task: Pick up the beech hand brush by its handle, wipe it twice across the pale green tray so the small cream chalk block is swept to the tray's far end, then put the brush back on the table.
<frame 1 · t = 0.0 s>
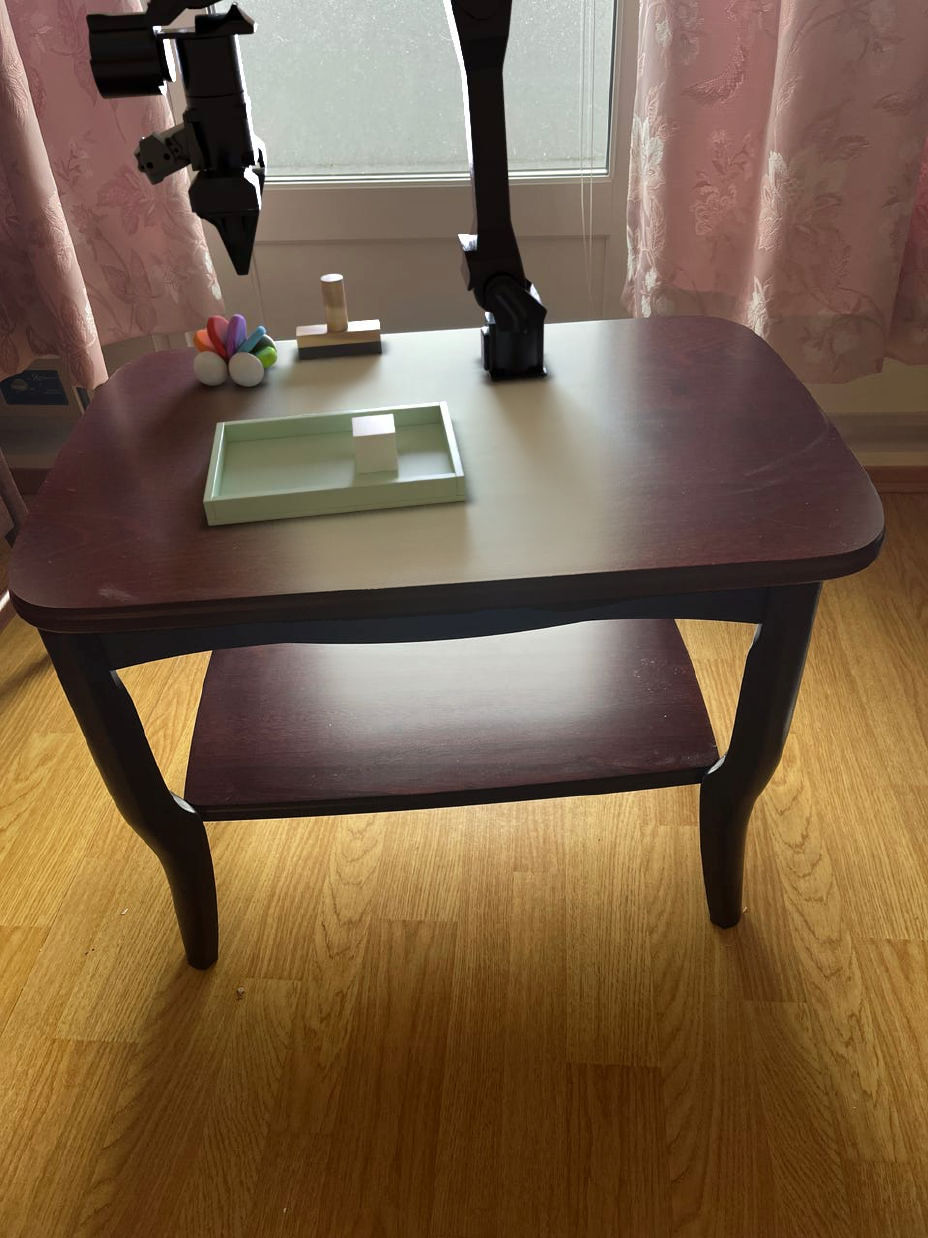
hand: (245, 259, 99), 15 cm above the table, tool pointing down, fingers open, 9 cm apart
brush: (340, 351, 116), on the table
rainbow petal wheeled toy: (240, 376, 112), on the table
tray: (337, 471, 93), on the table
chalk block: (377, 461, 93), point 1 cm above the table, touching tray
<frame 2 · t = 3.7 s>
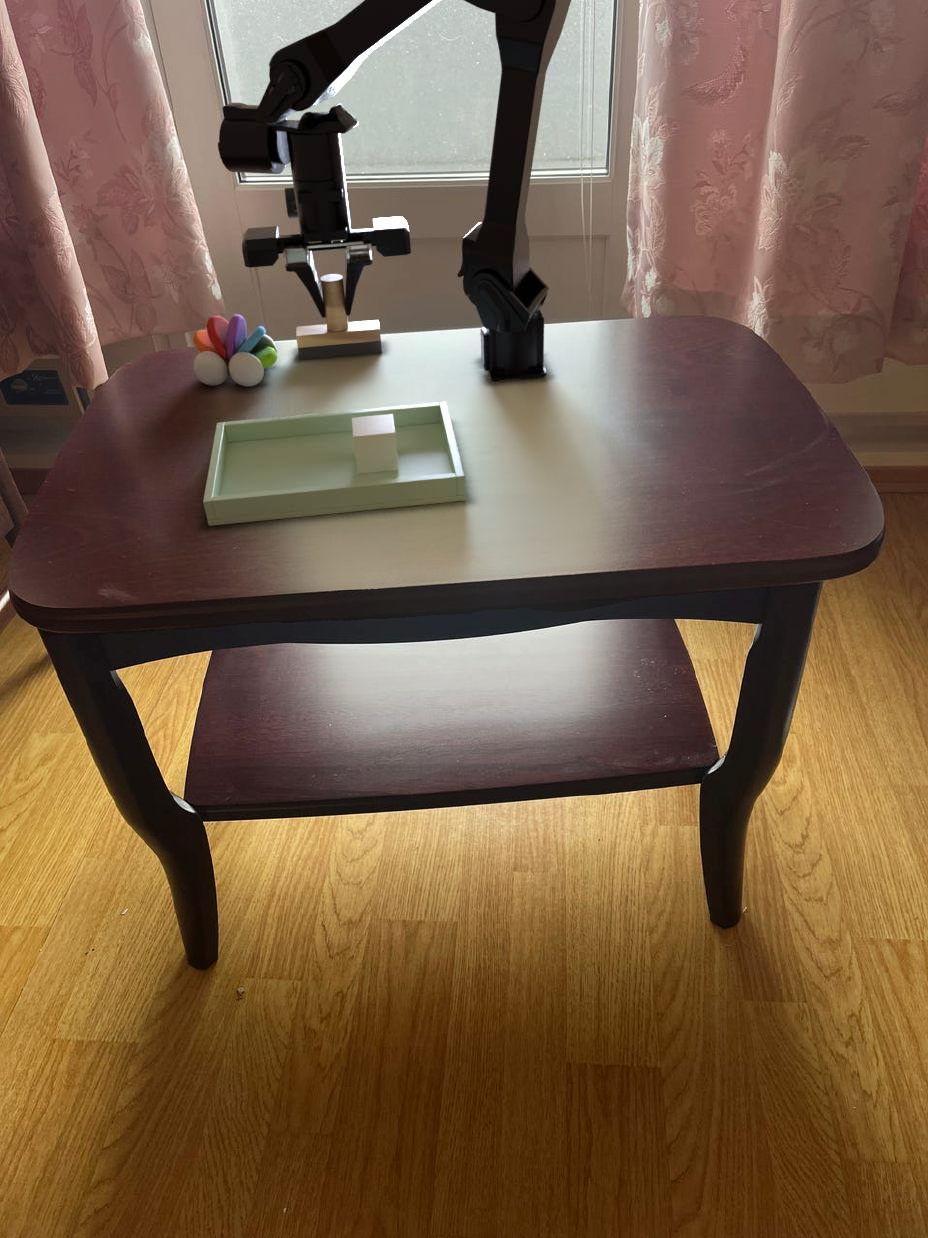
hand: (336, 315, 113), 5 cm above the table, tool pointing down, fingers closed on brush, 2 cm apart
brush: (340, 351, 116), on the table, touching gripper
everything else where it was.
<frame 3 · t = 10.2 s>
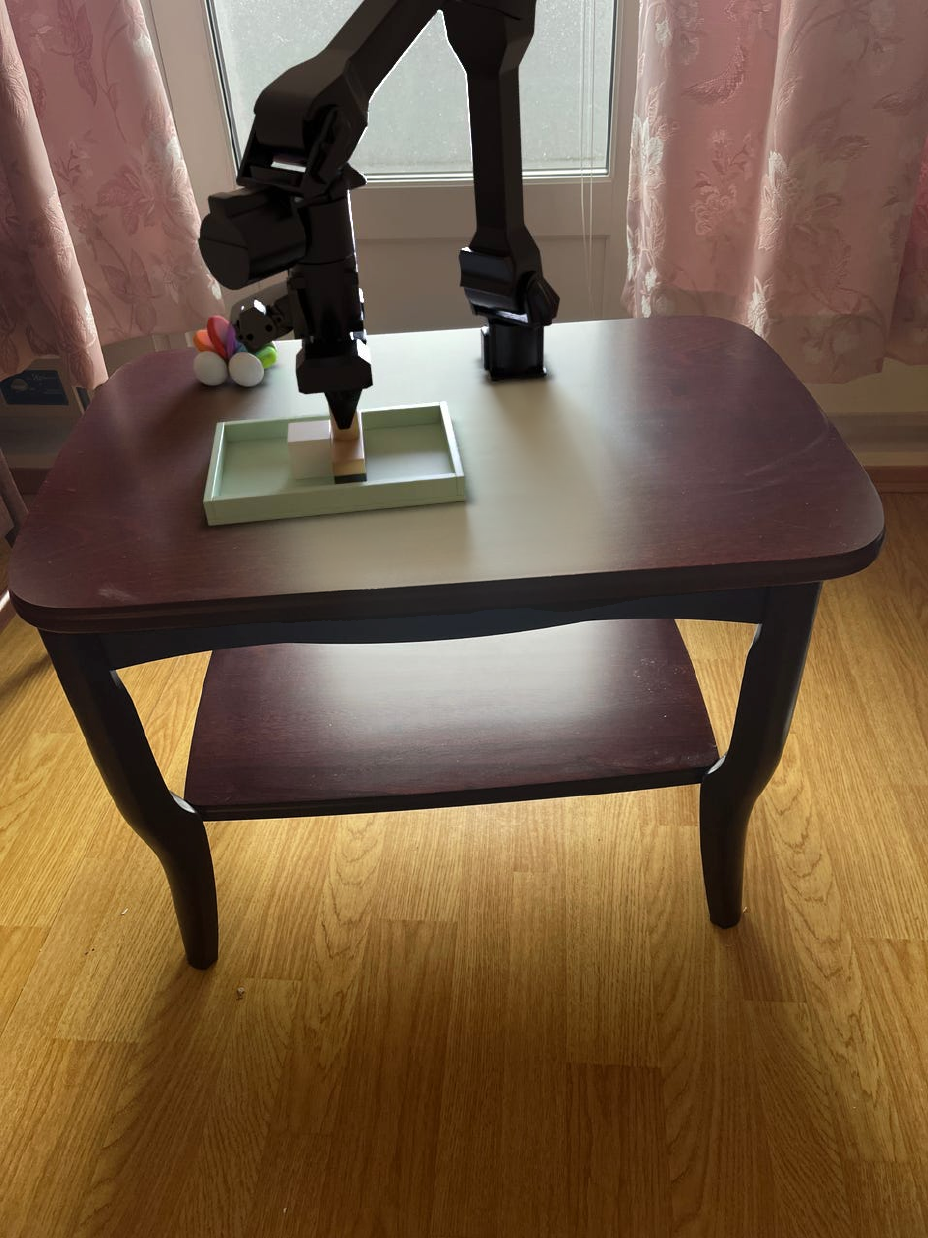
hand: (343, 421, 90), 5 cm above the table, tool pointing down, fingers closed on brush, 2 cm apart
brush: (350, 462, 93), point 1 cm above the table, touching gripper
chalk block: (314, 467, 93), point 1 cm above the table, touching tray
everything else where it was.
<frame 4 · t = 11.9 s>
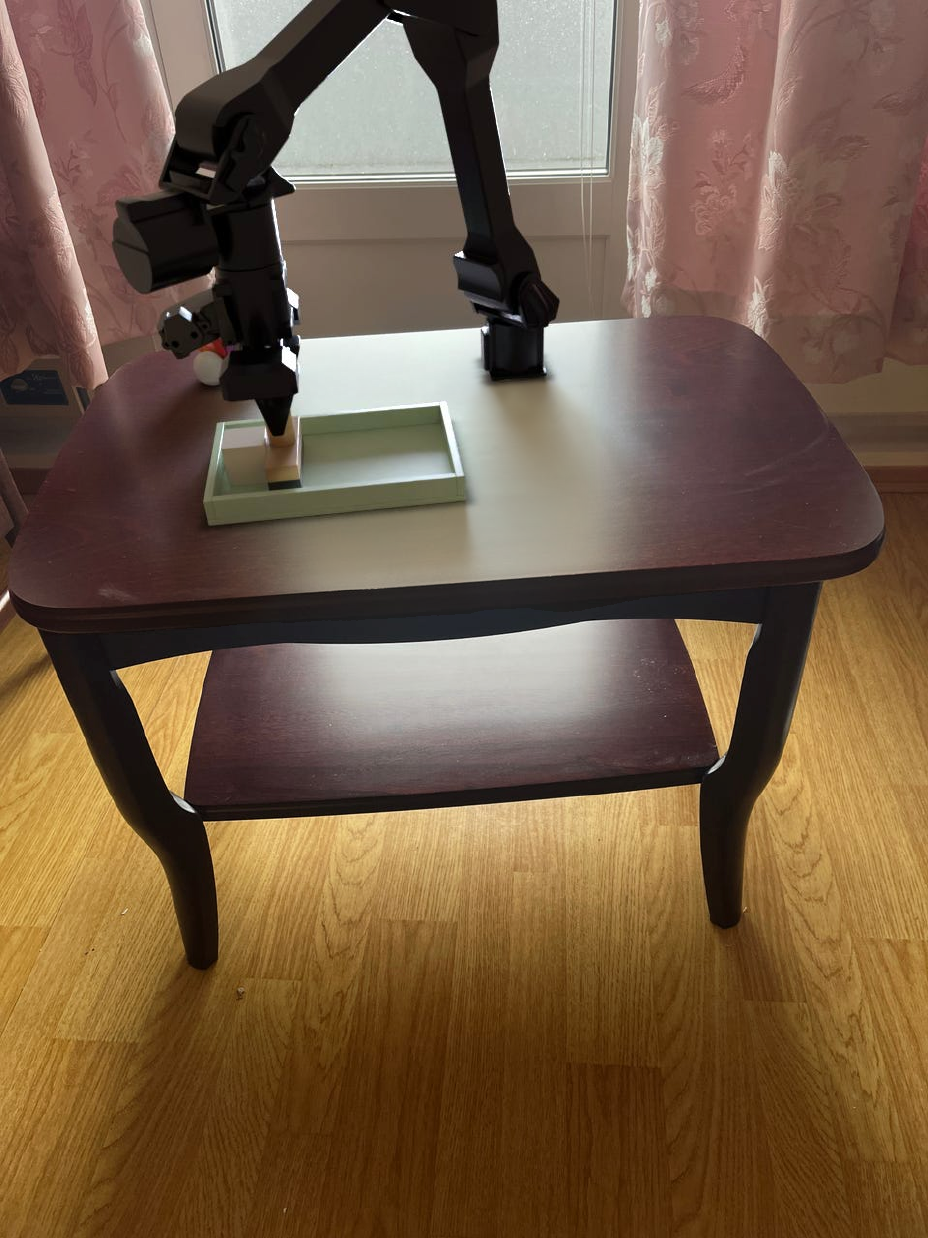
hand: (278, 428, 90), 5 cm above the table, tool pointing down, fingers closed on brush, 3 cm apart
brush: (288, 468, 92), point 1 cm above the table, touching gripper
chalk block: (251, 474, 92), point 1 cm above the table, touching tray
everything else where it was.
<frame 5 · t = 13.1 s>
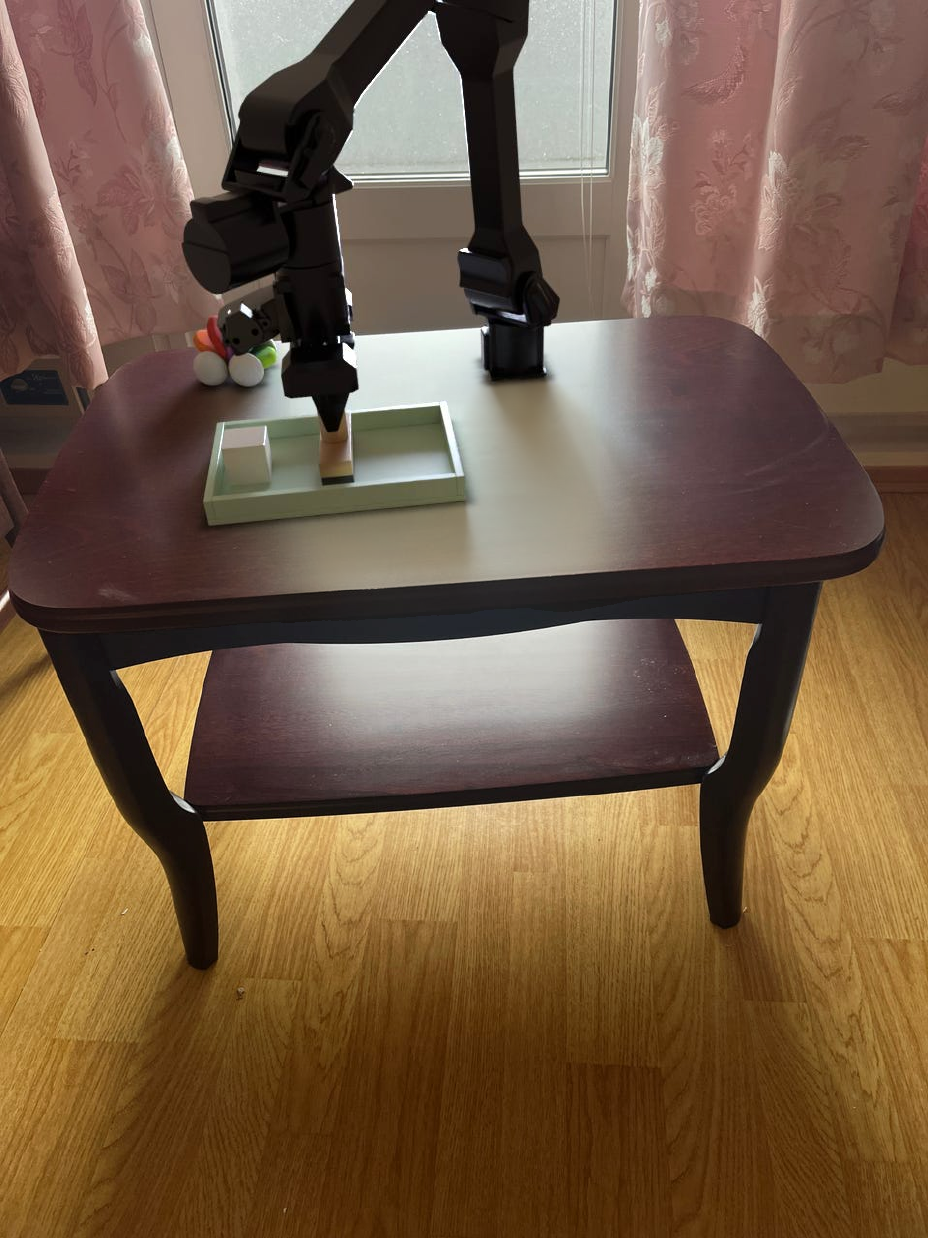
hand: (332, 424, 90), 5 cm above the table, tool pointing down, fingers closed on brush, 2 cm apart
brush: (339, 464, 93), point 1 cm above the table, touching gripper
everything else where it was.
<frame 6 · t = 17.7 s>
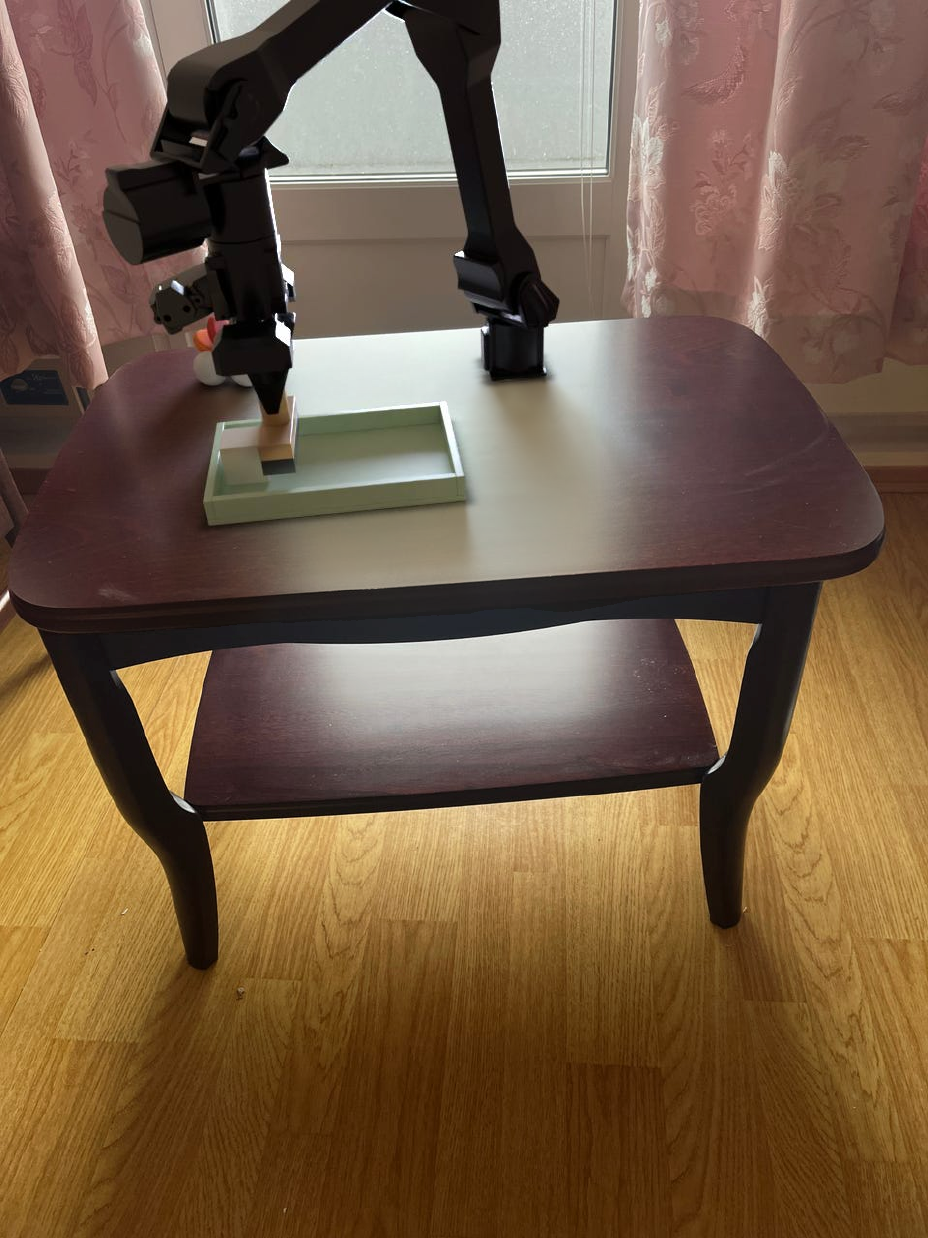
hand: (273, 406, 88), 7 cm above the table, tool pointing down, fingers closed on brush, 3 cm apart
brush: (282, 448, 91), point 3 cm above the table, touching gripper
everything else where it was.
when the fingers open (4 cm above the table, at t = 22.3 s): brush stays where it is, on the table.
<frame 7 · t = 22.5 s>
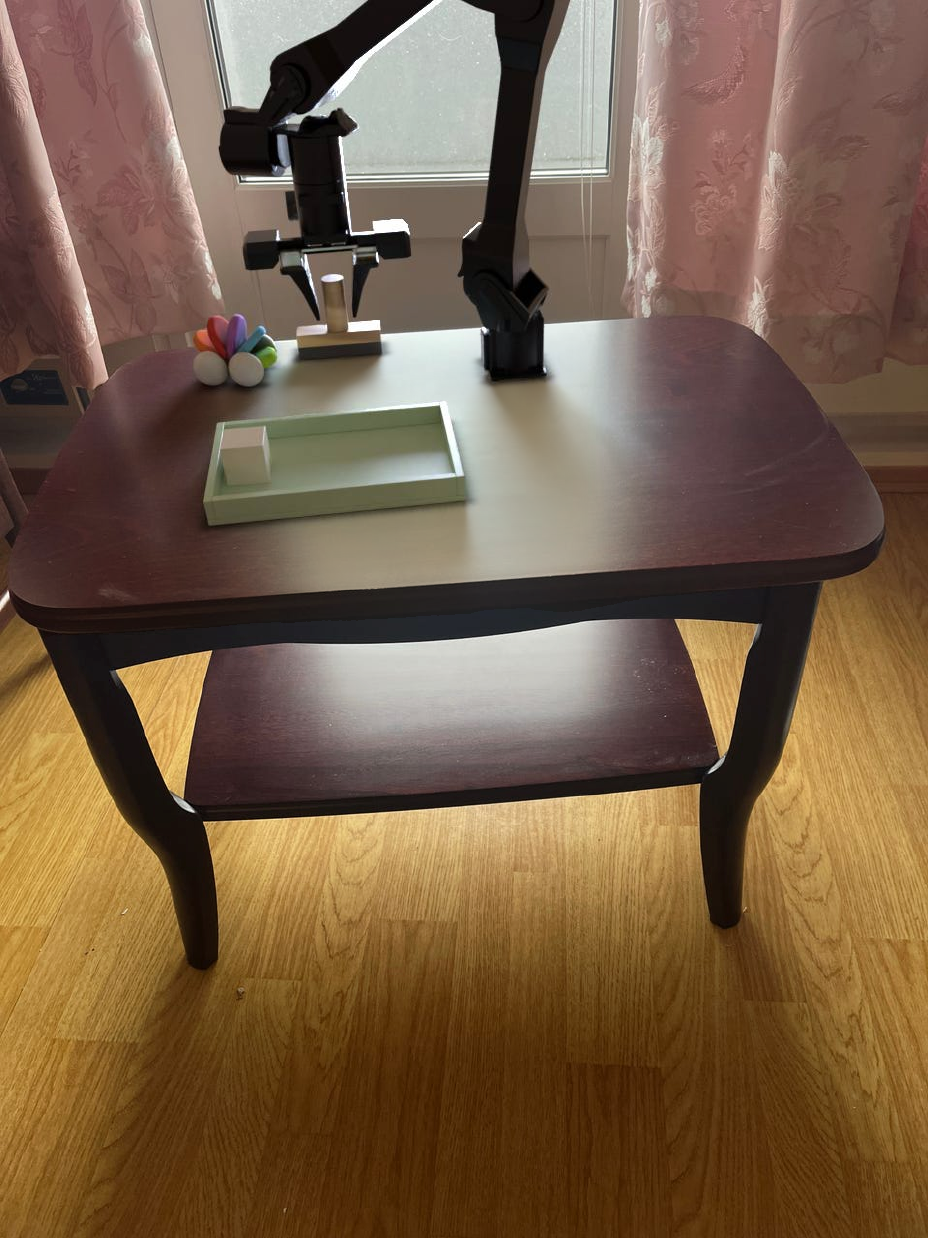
hand: (336, 318, 114), 4 cm above the table, tool pointing down, fingers open, 4 cm apart
brush: (341, 351, 116), on the table
everything else where it was.
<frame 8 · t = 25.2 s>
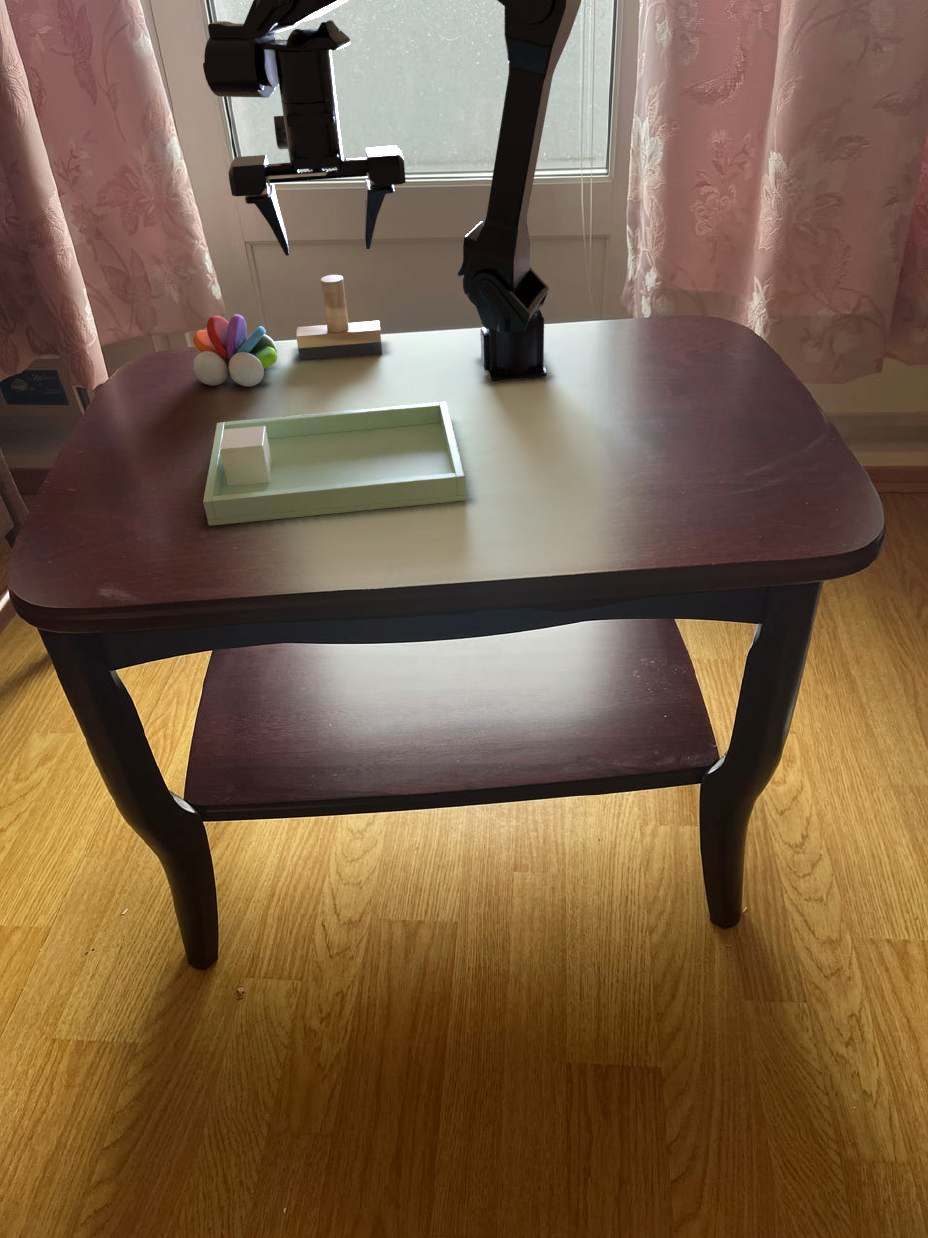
hand: (327, 251, 109), 12 cm above the table, tool pointing down, fingers open, 9 cm apart
nothing on the table moved.
at the end: chalk block inside the target area in the tray (0.6 cm from its centre), point 0.6 cm above the tray's base; brush inside the target area (0.1 cm from its centre), on the table; brush tilted 0° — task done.
